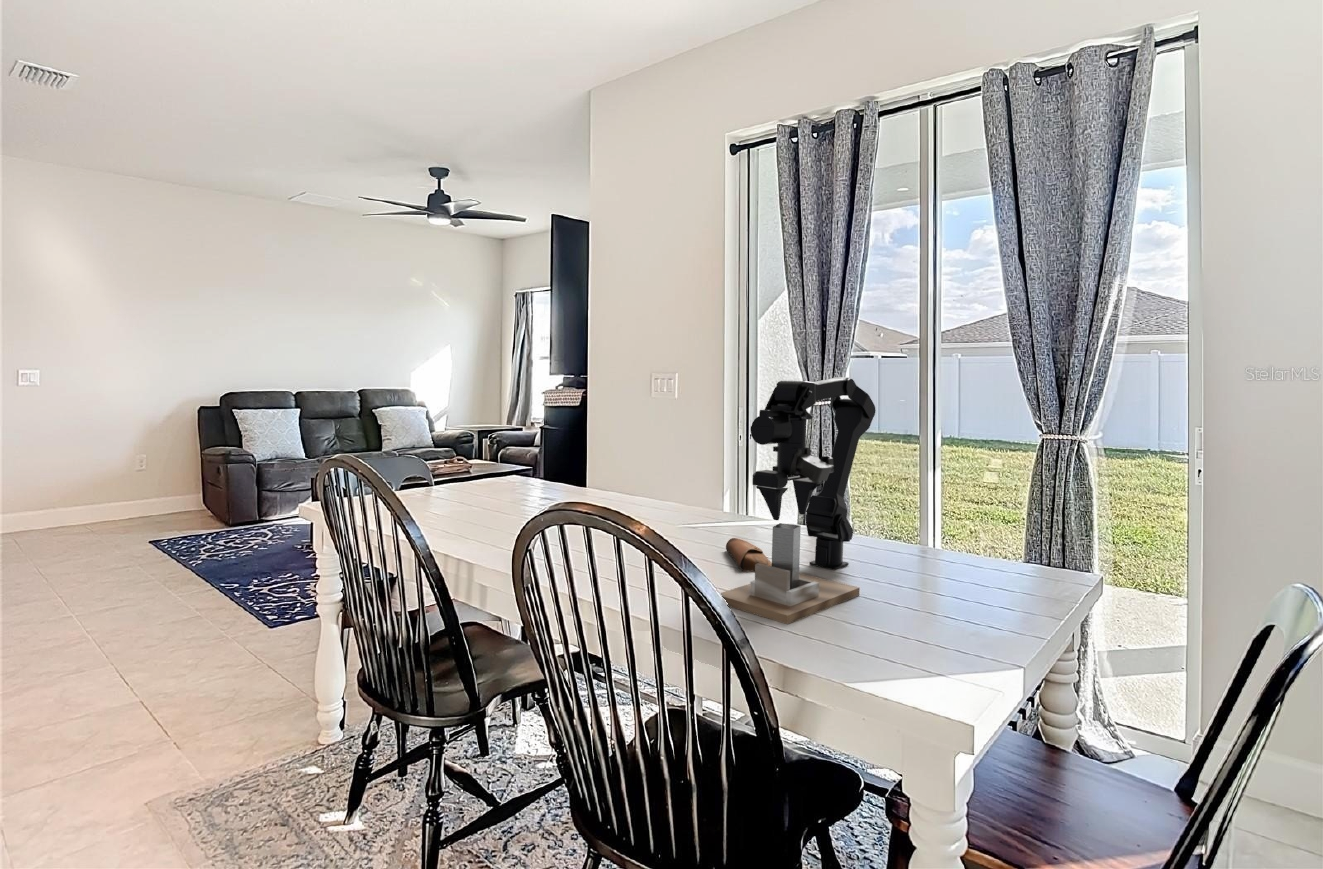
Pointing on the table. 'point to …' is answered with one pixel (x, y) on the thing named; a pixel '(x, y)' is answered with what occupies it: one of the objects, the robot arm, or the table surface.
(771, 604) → the keeper board
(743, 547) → the sunglasses case
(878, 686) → the table surface
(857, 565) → the table surface
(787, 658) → the table surface
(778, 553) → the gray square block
